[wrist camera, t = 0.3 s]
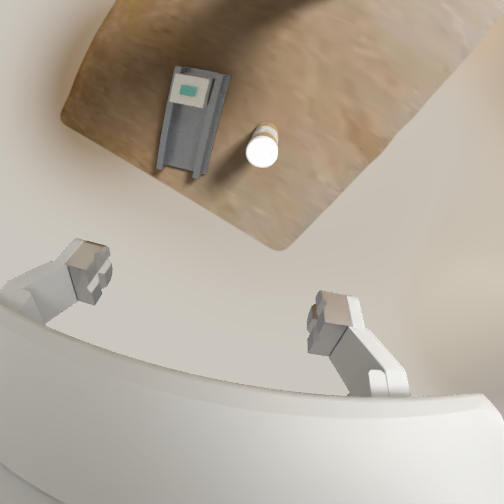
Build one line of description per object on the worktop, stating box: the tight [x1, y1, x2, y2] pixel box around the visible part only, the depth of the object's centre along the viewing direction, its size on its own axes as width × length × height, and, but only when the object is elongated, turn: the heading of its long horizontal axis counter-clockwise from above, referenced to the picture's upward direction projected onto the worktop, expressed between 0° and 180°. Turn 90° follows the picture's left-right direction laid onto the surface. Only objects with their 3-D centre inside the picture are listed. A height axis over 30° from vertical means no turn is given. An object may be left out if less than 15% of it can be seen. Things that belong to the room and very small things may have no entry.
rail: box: [156, 65, 232, 179], centre depth 47 cm, size 20×10×8 cm, turn 164°
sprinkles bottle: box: [246, 123, 279, 168], centre depth 45 cm, size 5×5×14 cm
